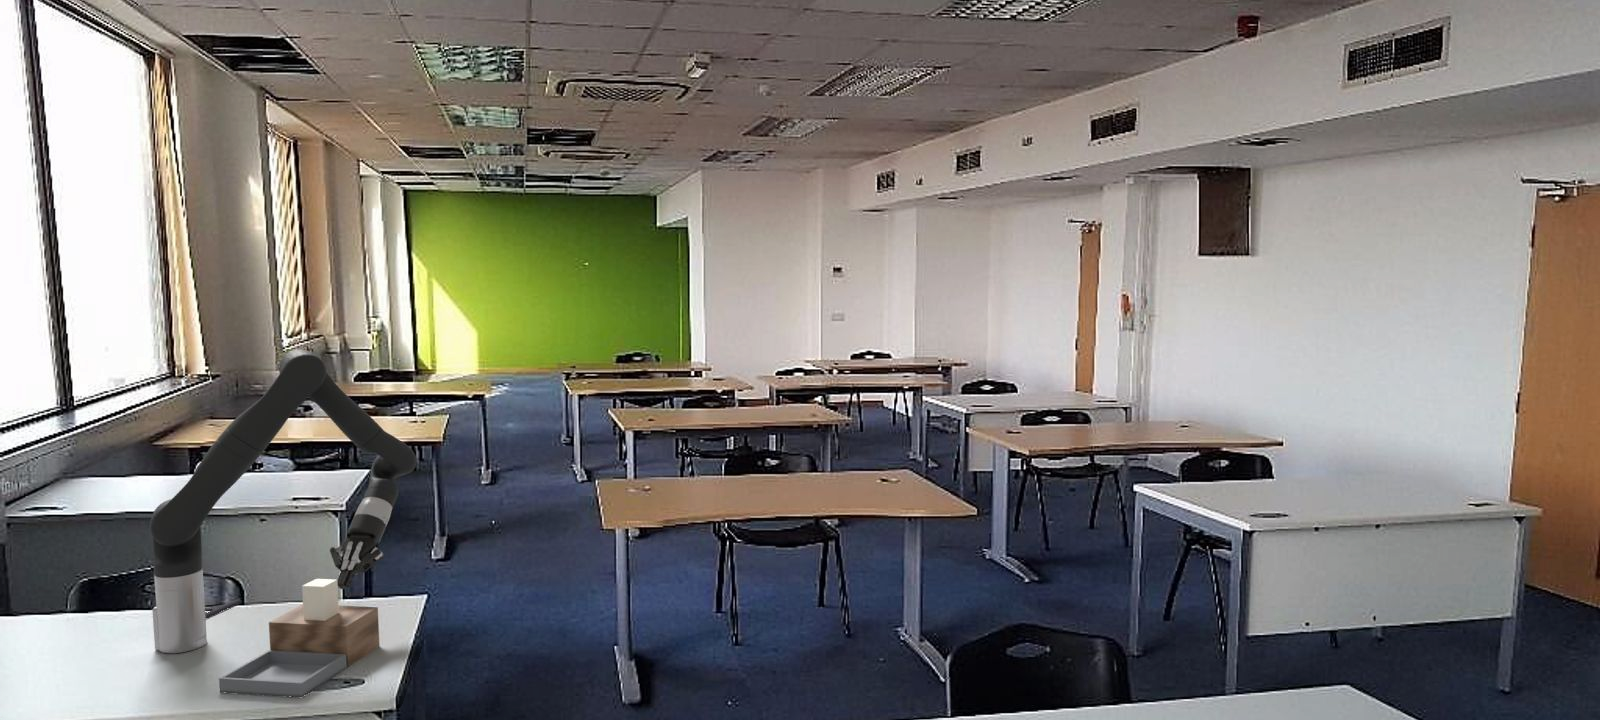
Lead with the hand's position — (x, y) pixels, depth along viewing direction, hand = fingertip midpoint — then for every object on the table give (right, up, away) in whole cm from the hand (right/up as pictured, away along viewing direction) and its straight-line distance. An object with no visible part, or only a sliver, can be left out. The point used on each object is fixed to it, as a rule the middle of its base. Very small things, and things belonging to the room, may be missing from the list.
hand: (342, 587), depth 228 cm
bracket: (-47, -12, +23) cm, 54 cm away
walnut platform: (-1, -13, -6) cm, 15 cm away
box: (-3, -15, -20) cm, 25 cm away
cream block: (-1, -5, -8) cm, 9 cm away
